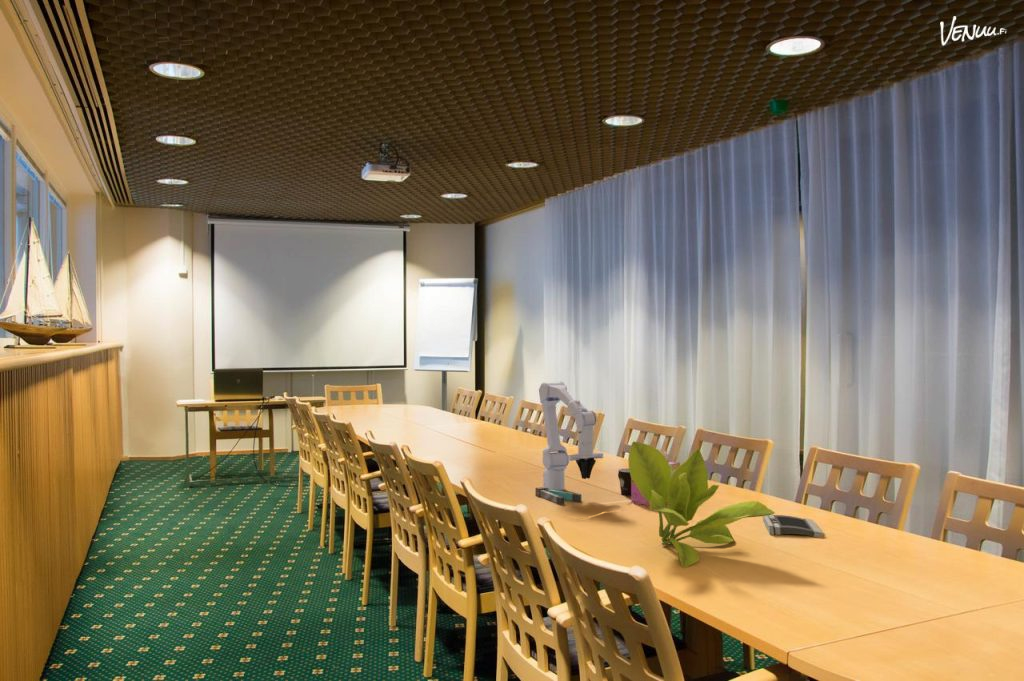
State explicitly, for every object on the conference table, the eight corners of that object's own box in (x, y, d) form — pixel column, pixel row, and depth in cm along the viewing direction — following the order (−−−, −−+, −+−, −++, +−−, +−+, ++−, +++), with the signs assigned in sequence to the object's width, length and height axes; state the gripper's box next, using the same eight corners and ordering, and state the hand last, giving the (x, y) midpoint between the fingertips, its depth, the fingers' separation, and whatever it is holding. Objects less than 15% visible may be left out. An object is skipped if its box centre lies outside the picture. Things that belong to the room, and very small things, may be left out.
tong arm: (548, 497, 292) (548, 490, 292) (551, 496, 293) (551, 489, 293) (578, 502, 283) (578, 494, 283) (581, 501, 284) (581, 494, 284)
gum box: (666, 493, 302) (666, 459, 302) (683, 496, 297) (683, 461, 296) (630, 502, 285) (630, 466, 285) (647, 506, 280) (647, 469, 280)
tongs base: (535, 495, 295) (535, 486, 295) (545, 494, 297) (545, 485, 297) (559, 505, 278) (559, 495, 278) (569, 504, 280) (569, 494, 280)
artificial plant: (630, 590, 205) (681, 512, 191) (582, 479, 240) (623, 406, 226) (752, 599, 221) (807, 527, 207) (690, 493, 256) (734, 426, 242)
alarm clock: (762, 513, 255) (813, 511, 252) (763, 526, 255) (814, 525, 252) (769, 525, 238) (823, 524, 235) (770, 540, 238) (825, 539, 235)
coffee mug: (642, 497, 293) (642, 472, 293) (619, 497, 293) (619, 472, 293) (637, 491, 305) (637, 467, 305) (616, 491, 305) (616, 467, 305)
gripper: (574, 445, 283) (574, 481, 283) (607, 443, 289) (607, 478, 289) (565, 443, 289) (565, 478, 289) (597, 440, 295) (597, 475, 295)
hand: (585, 478), depth 289 cm, fingers closed
